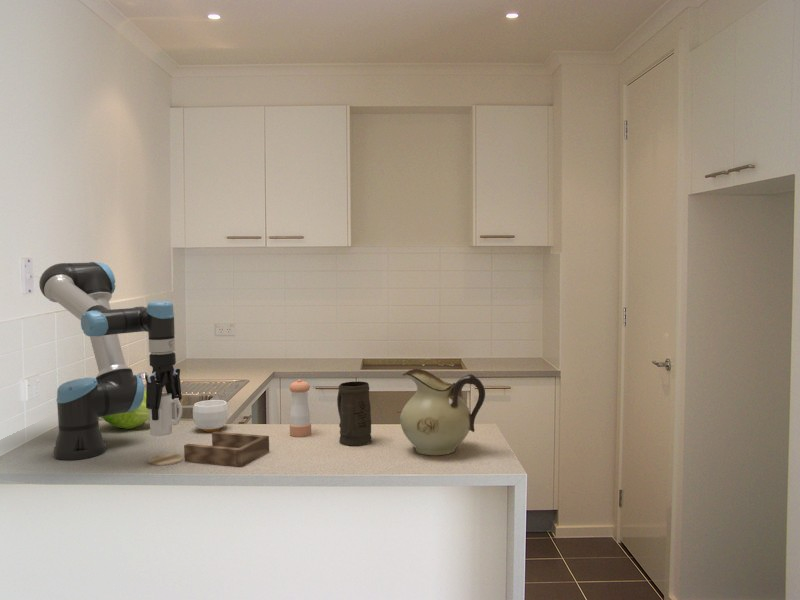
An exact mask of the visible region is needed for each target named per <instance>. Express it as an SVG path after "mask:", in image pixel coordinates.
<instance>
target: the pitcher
mask: <svg viewBox="0 0 800 600" xmlns="http://www.w3.org/2000/svg"><path fill="white" fill-rule="evenodd" d="M402 377H404V378H407V379H410V380H412V382H413V383H414V384H415V385H416V391H415V393H414V394H413V396H412V397H411V398H410V399H409V400H408V401H407V402H406V403H405V405H404V407H402V410H401V413H400V417H399V419H400V427H401V429H402V431H403V434H404V436H405V437H406V439H408V442H410V443H411V444H412V445H413V446H414V447H415V451H416V452H417V453H418V454H421V455H424V456H425V455H426V456H445V455H450V454H453V453H454V452H455V451H456V448H457V447H458V446H459V445H460V444H461V443H462V442H463V441H464V440H465V438H466V437H467V436H468V434H469V432H472V433H474V432H475V430H476V429H475V421H476V418H477V415H478V412H479V411H480V409H481V408H482V406H483V404H484V402H485V398H486V389H485V385H484V384H483V383H482V381H481V380H480V379H479V378H478V377H476V376H475V375H474V374H467V375H465V376H462V377H461V378H459V379H458V380H457V381H456V382H453V383H448V382H447V381H444V380H443V379H440V378H439V377H438V376H436V375H434V374H433V373H431V372H429V371H428V370H424V369H421V368H413V369H409V370H407V371H406V372H405V373H403V374H402ZM467 384H468V385H473V386H475V387H476V389H477V392H478V398H477V401H476V403H475V406H474V408H473V409H472V412H471V411H470V408H469V407H468V405H467V404H466V402H465V401H464V400H463V399H464V398H463V396H462V395H463V394H462V391H463V390H462V389H463V387H464V386H465V385H467Z"/></svg>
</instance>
